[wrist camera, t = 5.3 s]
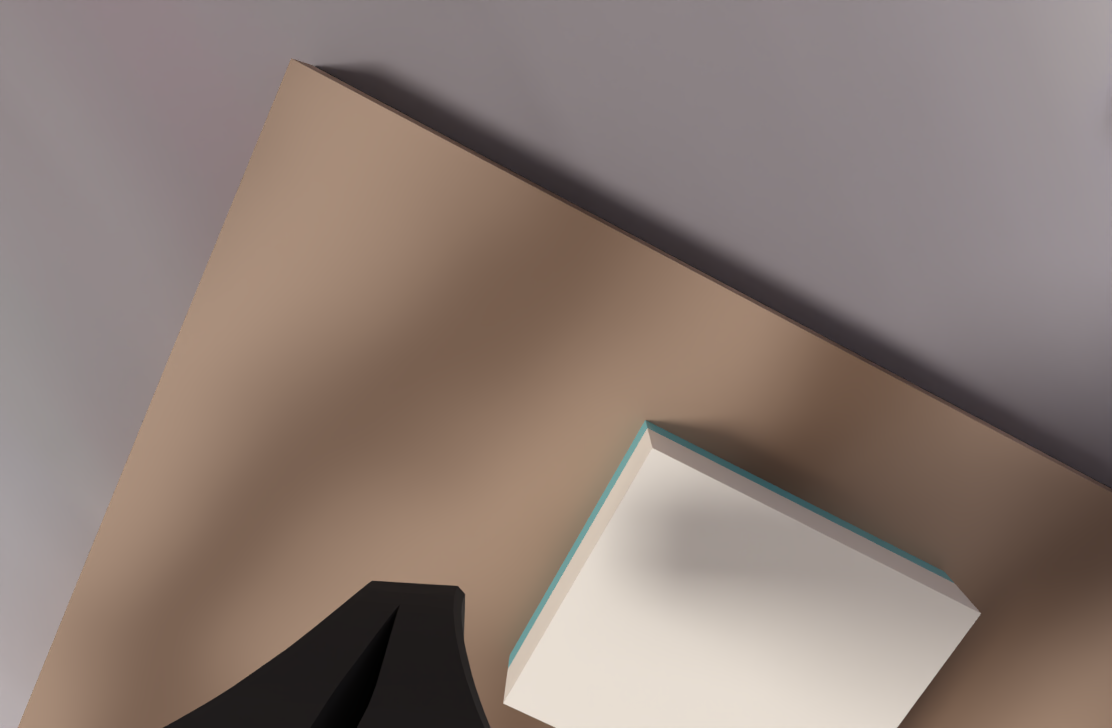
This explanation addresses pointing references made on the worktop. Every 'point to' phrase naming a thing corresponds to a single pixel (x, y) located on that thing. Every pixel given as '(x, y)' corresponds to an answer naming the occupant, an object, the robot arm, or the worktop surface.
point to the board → (516, 437)
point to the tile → (729, 609)
